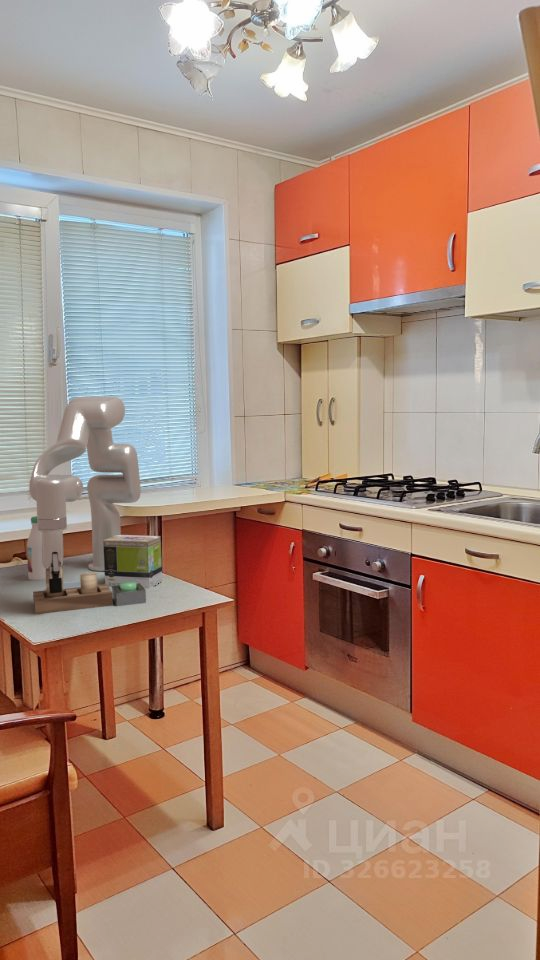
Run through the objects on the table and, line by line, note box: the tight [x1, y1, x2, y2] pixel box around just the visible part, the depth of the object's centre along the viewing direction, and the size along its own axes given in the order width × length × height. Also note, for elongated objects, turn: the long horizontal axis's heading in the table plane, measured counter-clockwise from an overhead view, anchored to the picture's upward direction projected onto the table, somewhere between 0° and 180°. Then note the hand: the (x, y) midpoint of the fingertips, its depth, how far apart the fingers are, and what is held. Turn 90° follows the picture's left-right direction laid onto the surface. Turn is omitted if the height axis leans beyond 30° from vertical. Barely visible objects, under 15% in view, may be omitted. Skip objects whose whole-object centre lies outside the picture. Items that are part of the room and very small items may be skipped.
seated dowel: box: [79, 572, 98, 594], centre depth 194 cm, size 4×4×8 cm
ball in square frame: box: [111, 583, 147, 607], centre depth 196 cm, size 8×8×4 cm
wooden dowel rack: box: [32, 583, 114, 615], centre depth 193 cm, size 10×20×4 cm, turn 112°
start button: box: [120, 582, 137, 591], centre depth 196 cm, size 4×4×3 cm
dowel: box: [45, 566, 64, 598], centre depth 190 cm, size 4×4×8 cm
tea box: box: [103, 534, 163, 589], centre depth 215 cm, size 15×10×15 cm, turn 74°
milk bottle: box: [26, 515, 48, 581], centre depth 223 cm, size 8×8×20 cm
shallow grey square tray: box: [63, 580, 81, 589], centre depth 205 cm, size 13×13×2 cm
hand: (55, 589), depth 191 cm, fingers closed on dowel, 4 cm apart
